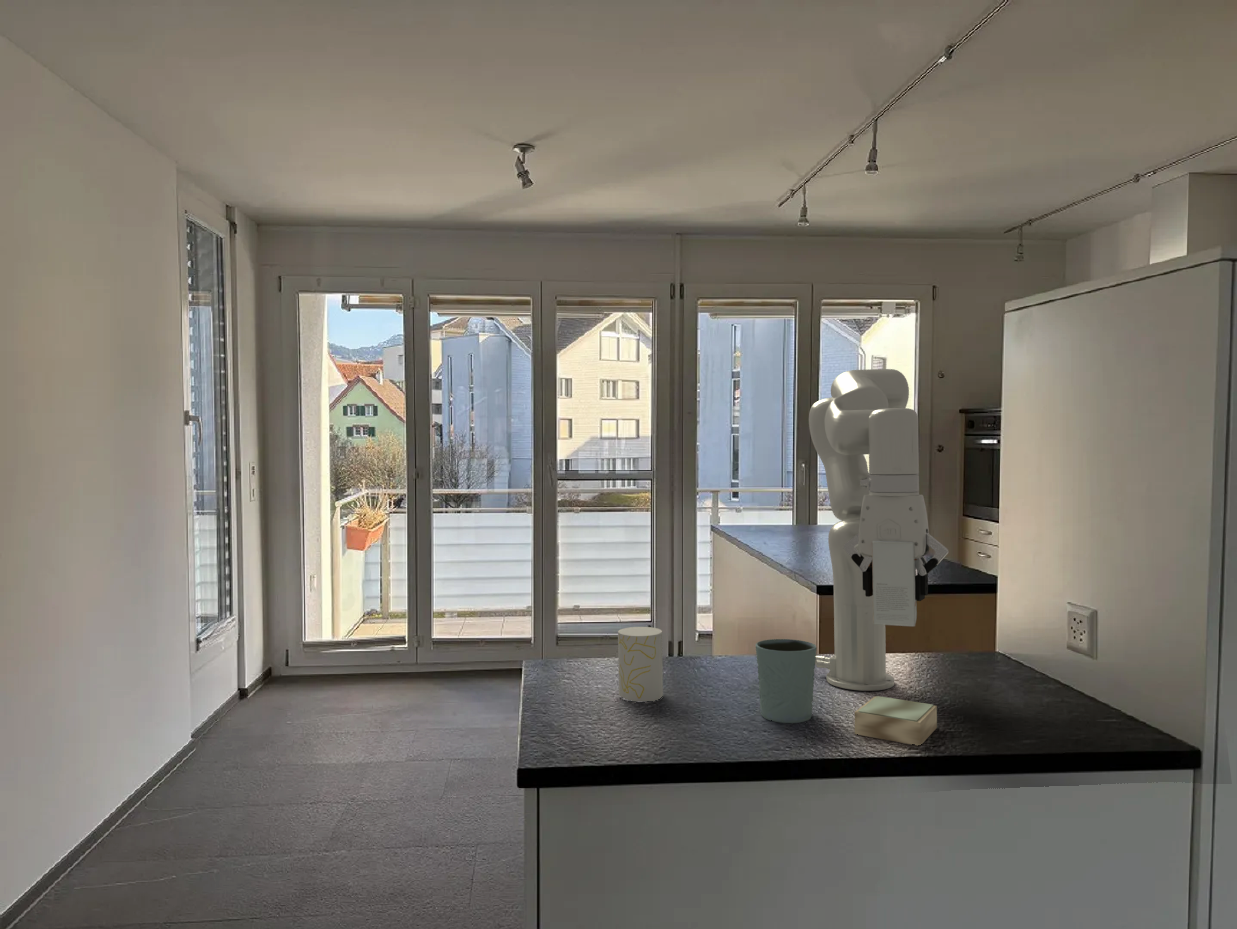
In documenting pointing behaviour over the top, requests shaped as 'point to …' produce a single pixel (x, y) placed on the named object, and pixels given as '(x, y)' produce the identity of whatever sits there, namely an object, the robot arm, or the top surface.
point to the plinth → (896, 720)
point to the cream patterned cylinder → (640, 663)
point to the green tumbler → (786, 679)
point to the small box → (894, 583)
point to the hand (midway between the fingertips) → (894, 596)
